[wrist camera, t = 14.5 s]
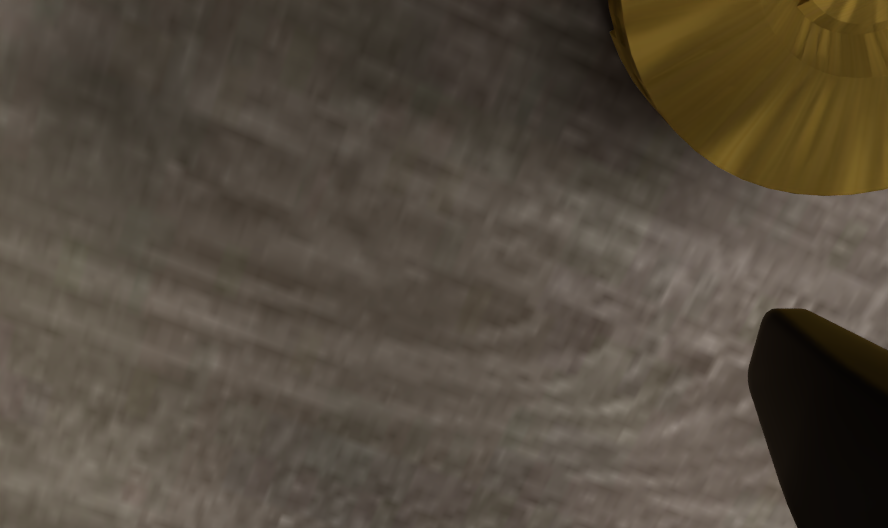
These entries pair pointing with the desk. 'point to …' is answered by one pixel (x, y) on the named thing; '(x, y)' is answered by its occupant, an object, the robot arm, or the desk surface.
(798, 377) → the robot arm
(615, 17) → the compass
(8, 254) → the desk surface
